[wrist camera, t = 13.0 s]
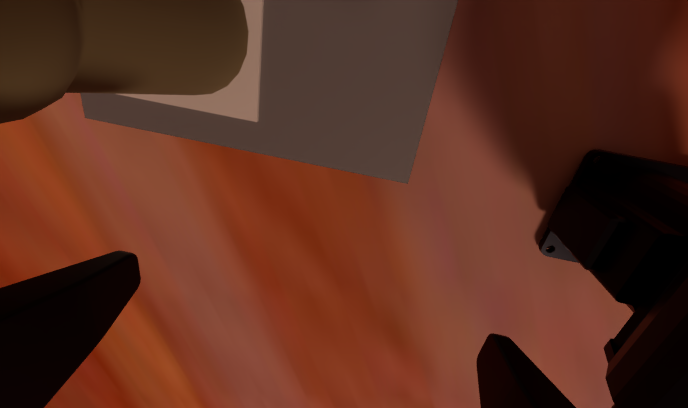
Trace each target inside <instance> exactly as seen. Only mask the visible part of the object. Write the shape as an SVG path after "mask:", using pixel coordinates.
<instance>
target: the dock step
mask: <svg viewBox="0 0 688 408" xmlns="http://www.w3.org/2000/svg"><path fill="white" fill-rule="evenodd" d="M241 2H242V4H243V6H244V10H245V15H246V20H247V26H248V31H249V32H248V45H247V55H246V57H245V60H244V62H243V65H242V67H241V70H240V72H239V73H238V75H237V76H236V77H235V78H234V79H233V80H232V81H231V82H230V84H229V85H228V86H226V87H225V88H223V89H221V90H219V91H217V92H215V93H213V94H204V95H157V94H111V93H81V99H82V104H83V109H84V114H85V118H88V119H93V120H98V121H103V122H108V123H113V124H118V125H122V126H127V127H132V128H137V129H142V130H147V131H152V132H157V133H162V134H167V135H172V136H176V137H181V138H186V139H191V140H196V141H201V142H206V143H211V144H216V145H221V146H225V147H230V148H235V149H240V150H245V151H250V152H255V153H260V154H265V155H270V156H275V157H279V158H284V159H289V160H294V161H299V162H304V163H309V164H314V165H319V166H324V167H328V168H333V169H338V170H343V171H348V172H353V173H358V174H363V175H368V176H373V177H378V178H382V179H387V180H392V181H397V182H402V183H407V184H408V181H409V177H410V174H411V170H412V166H413V163H414V159H415V156H416V152H417V148H418V145H419V141H420V137H421V134H422V130H423V126H424V123H425V119H426V115H427V112H428V108H429V105H430V101H431V97H432V94H433V90H434V86H435V83H436V79H437V75H438V72H439V68H440V64H441V61H442V57H443V54H444V50H445V46H446V43H447V39H448V35H449V32H450V28H451V24H452V21H453V17H454V13H455V10H456V6H457V3H458V0H241Z"/></svg>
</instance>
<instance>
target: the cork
mask: <svg viewBox="0 0 688 408" xmlns="http://www.w3.org/2000/svg"><path fill="white" fill-rule="evenodd" d="M248 32H249V31H248V26H247V20H246V15H245V10H244V6H243V4H242V2H241V0H0V123H5V122H10V121H15V120H20V119H24V118H26V117H28V116H30V115H32V114H34V113H36V112H38V111H40V110H42V109H43V108H45V107H47V106H48V105H50V104H52V103H54V102H55V101H57V100H59V99H60V98H62V97H63V95H64V94H65V92H66V93H111V94H157V95H204V94H213V93H215V92H217V91H219V90H221V89H223V88H225V87H226V86H228V85H229V84H230V82H231V81H232V80H233V79H234V78H235V77H236V76H237V75H238V73H239V72H240V70H241V67H242V65H243V62H244V60H245V57H246V55H247V45H248Z"/></svg>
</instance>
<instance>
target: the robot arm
mask: <svg viewBox="0 0 688 408" xmlns="http://www.w3.org/2000/svg"><path fill="white" fill-rule="evenodd" d="M598 156H599V157H600V158H599V160H598V162H596V163H593V160H594V159H595V158H596V157H598ZM548 246H552V247H551V248H550V249H546V248H547V247H548ZM539 250H540V251H541V252H542V253H543V255H545V256H548V257H553V258H558V259H563V260H567V261H572V262H577V263H580V264H581V265H582V266H583V268H584V269H586V270H589V271H590V272H591V273H592V274H593V275H594V276H595V278H596V279H597V280H598V281H599V282H600V283H601V284H602V285H603V286H604V288H605V289H606V290H607V291H608V292H609V293H610V294H611V295H612V296H613V298H614V299H615V300H616V301H618V302H620V303H624V304H626V305H627V306H628V307H629V308H630V309H631V310H632V311H633V315H632V316H631V317H630V319H629V320H628V321H627V323H626V324H625V325H624V326H623V328H622V329H621V330H620V332H619V333H618V334H617V336H616V337H615V338H614V339H610V340H609V341H608V342H607V344H606V345H605V346H604V351H605V354H606V358H607V361H608V368H607V373H606V381H607V384H608V387H609V390H610V394H611V397H612V400H613V402H614V405H613V406H612V407H611V408H688V167H687V166H682V165H676V164H671V163H666V162H661V161H656V160H650V159H645V158H640V157H635V156H630V155H625V154H619V153H614V152H609V151H604V150H592V151H590V152H588V153H587V154H586V155H585V157H584V159H583V161H582V162H581V164H580V166H579V168H578V170H577V172H576V174H575V176H574V178H573V180H572V182H571V184H570V185H569V186H568V187H566V189H565V191H564V193H563V195H562V197H561V199H560V201H559V203H558V205H557V207H556V209H555V210H554V212H553V214H552V216H551V218H550V220H549V222H548V228H547V230H546V232H545V234H544V236H543V238H542V239H541V241H540V243H539ZM140 280H141V277H140V271H139V264H138V258H137V256H136V255H135V254H133V253H129V252H125V251H115V252H112V253H109V254H106V255H102V256H99V257H96V258H93V259H90V260H87V261H84V262H81V263H77V264H74V265H71V266H68V267H65V268H62V269H59V270H55V271H52V272H49V273H46V274H43V275H40V276H37V277H34V278H30V279H27V280H24V281H21V282H18V283H15V284H12V285H8V286H5V287H2V288H0V408H44V407H45V406H46V405H47V403H48V402H49V401H50V400H51V399H52V398H53V396H54V395H55V394H56V393H57V392H58V391H59V389H60V388H61V387H62V386H63V385H64V383H65V382H66V381H67V380H68V379H69V378H70V376H71V375H72V374H73V373H74V372H75V371H76V369H77V368H78V367H79V366H80V365H81V364H82V362H83V361H84V360H85V359H86V358H87V356H88V355H89V354H90V353H91V352H92V351H93V349H94V348H95V347H96V346H97V344H98V343H99V342H100V341H101V339H102V338H103V337H104V335H105V334H106V333H107V331H108V330H109V328H110V327H111V326H112V324H113V323H114V321H115V320H116V318H117V317H118V316H119V314H120V313H121V311H122V310H123V309H124V307H125V306H126V304H127V303H128V301H129V300H130V299H131V297H132V296H133V294H134V293H135V292H136V290H137V289H138V287H139V284H140ZM477 374H478V384H479V394H480V404H481V408H576V407H575V406H574V405H573V404H572V403H571V402H570V401H569V400H568V399H567V398H566V397H565V396H564V395H563V394H562V393H561V391H560V390H559V389H558V388H557V387H556V386H555V385H554V384H553V383H552V382H551V381H550V380H549V379H548V378H547V377H546V376H545V375H544V374H543V373H542V371H541V370H540V369H539V368H538V367H537V366H536V365H535V364H534V363H533V362H532V361H531V360H530V359H529V358H528V357H527V356H526V355H525V354H524V353H523V351H522V350H521V349H520V348H519V347H518V346H517V345H516V344H515V343H514V342H513V341H512V340H511V339H510V338H509V337H507V336H503V335H498V334H494V333H493V334H490V335H488V337H487V339H486V341H485V343H484V345H483V346H482V348H481V350H480V352H479V354H478V357H477Z"/></svg>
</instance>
